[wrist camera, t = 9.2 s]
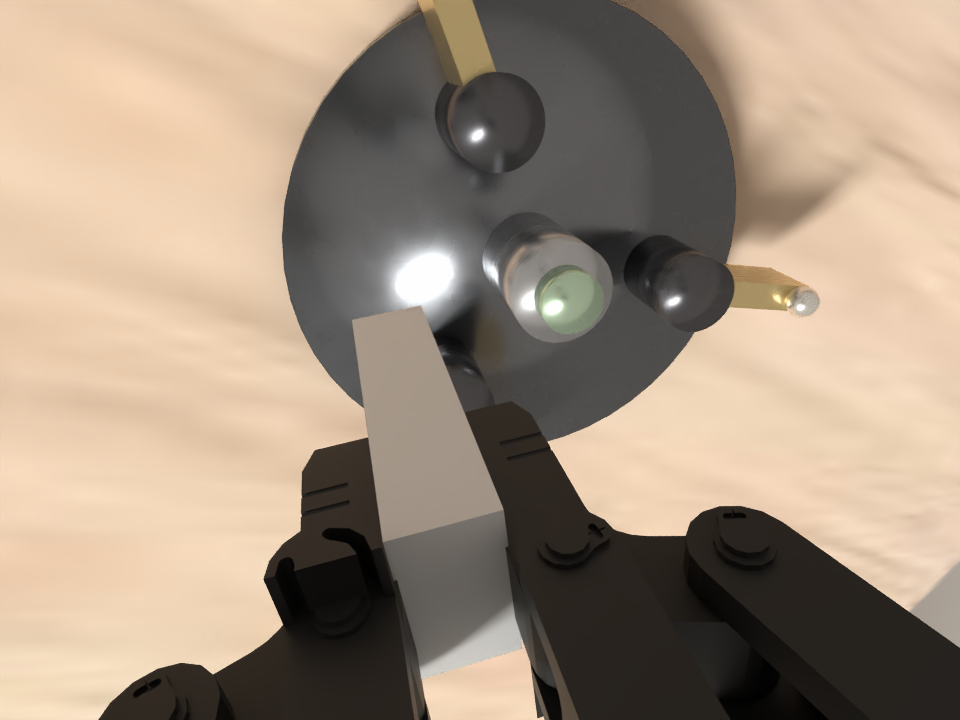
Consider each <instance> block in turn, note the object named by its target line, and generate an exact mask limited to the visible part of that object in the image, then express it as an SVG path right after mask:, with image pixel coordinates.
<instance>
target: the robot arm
mask: <svg viewBox="0 0 960 720" xmlns="http://www.w3.org/2000/svg"><path fill="white" fill-rule="evenodd" d="M352 324H353V331H354V339H355V346H356V353H357V360H358V367H359V375H360V382H361V389H362V396H363V403H364V411H365V418H366V425H367V432H368V438H364V439H360V440H356V441H352V442H347V443H343V444H339V445H335V446H331V447H327V448H323V449H318V450H315V451H314V453H313V454H312V456H311V458H310V459H309V461H308V463H307V465H306V466H305V468H304V470H303V471H302V498H301V514H302V517H301V531H300V532H299V533H297V534H296V535H295V536H293V537H292V538H291V539H289V540H288V541H286V542H285V543H284V544H283V545H282V546H281V547H280V548H279V550H278V551H277V552H276V553H275V555H274V556H273V557H272V558H271V560H270V561H269V564H268V567H267V570H266V573H265V576H264V582H265V584H266V586H267V589H268V591H269V593H270V595H271V598H272V600H273V602H274V605H275V607H276V609H277V611H278V614H279V616H280V618H281V620H282V623H283V626H282V627H281V628H280V629H279V630H278V631H277V632H276V633H275V634H274V635H273V636H272V637H271V638H270V639H269V640H268V641H267V642H266V643H264V644H263V645H261V646H260V647H258V648H257V649H255V650H254V651H253V652H251V653H250V654H248V655H246V656H244V657H243V658H241V659H239V660H237V661H236V662H234V663H232V664H231V665H229V666H227V667H225V668H224V669H222V670H220V671H219V672H217V673H215V674H212V673H210V672H209V671H208V670H206V669H205V668H204V667H203V666H201V665H194V664H186V663H179V664H175V665H171V666H167V667H163V668H159V669H157V670H155V671H153V672H151V673H149V674H148V675H146V676H144V677H142V678H140V679H139V680H137V681H135V682H133V683H132V684H131V685H130V686H129V687H128V688H126V689H125V690H124V691H123V692H122V693H121V694H120V695H119V696H117V697H116V698H115V699H114V700H113V701H112V702H111V703H110V704H109V706H108V707H107V708H106V710H105V711H104V713H103V714H102V715H101V717H100V718H99V720H431V718H430V715H429V711H428V708H427V704H426V701H425V697H424V691H423V685H422V679H424V678H428V677H431V676H434V675H437V674H441V673H444V672H447V671H450V670H454V669H457V668H460V667H463V666H467V665H470V664H473V663H476V662H480V661H483V660H486V659H489V658H493V657H496V656H499V655H503V654H506V653H509V652H512V651H516V650H519V649H522V642H521V637H522V640H523V643H524V645H525V648H526V651H527V654H528V657H529V660H530V663H531V671H532V679H533V686H534V694H535V702H536V710H537V718H540V717H543V716H544V719H545V720H960V648H959V647H958V646H956V645H955V644H953V643H952V642H951V641H949V640H948V639H947V638H945V637H944V636H942V635H941V634H940V633H938V632H937V631H935V630H934V629H932V628H931V627H930V626H928V625H927V624H925V623H924V622H923V621H921V620H920V619H918V618H917V617H916V616H914V615H913V614H911V613H910V612H908V611H907V610H906V609H904V608H903V607H901V606H900V605H899V604H897V603H896V602H894V601H893V600H892V599H890V598H889V597H887V596H886V595H885V594H883V593H882V592H880V591H879V590H877V589H876V588H875V587H873V586H872V585H870V584H869V583H868V582H866V581H865V580H863V579H862V578H861V577H859V576H858V575H856V574H855V573H854V572H852V571H851V570H849V569H848V568H846V567H845V566H844V565H842V564H841V563H839V562H838V561H837V560H835V559H834V558H832V557H831V556H830V555H828V554H827V553H825V552H824V551H823V550H821V549H820V548H818V547H817V546H815V545H814V544H813V543H811V542H810V541H808V540H807V539H806V538H804V537H803V536H801V535H800V534H799V533H797V532H796V531H794V530H793V529H791V528H790V527H789V526H787V525H786V524H784V523H783V522H781V521H780V520H778V519H776V518H774V517H772V516H770V515H768V514H766V513H764V512H762V511H758V510H754V509H750V508H746V507H742V506H719V507H716V508H713V509H710V510H707V511H704V512H702V513H700V514H699V515H698V516H697V517H696V518H695V519H694V520H692V521H691V522H690V525H689V528H688V531H687V534H686V536H639V535H630V534H627V533H623V532H619V531H616V530H614V529H613V528H612V527H611V526H610V525H609V524H608V523H607V522H606V521H605V520H604V519H602V518H600V517H598V516H596V515H594V514H592V513H590V512H589V511H588V510H587V509H586V507H585V506H584V504H583V502H582V501H581V499H580V497H579V496H578V494H577V492H576V490H575V489H574V487H573V485H572V484H571V482H570V480H569V478H568V477H567V475H566V473H565V471H564V470H563V468H562V466H561V465H560V463H559V461H558V459H557V458H556V456H555V454H554V453H553V451H551V449H550V446H549V444H548V442H547V440H546V439H545V437H544V435H542V432H541V430H540V428H539V427H538V425H537V423H536V422H535V420H534V418H533V416H532V415H531V413H529V412H527V411H526V410H524V409H523V408H521V407H520V406H518V405H516V404H515V403H513V402H512V401H509V402H505V403H501V404H497V405H492V406H488V407H484V408H480V409H476V410H472V411H468V412H464V411H463V408H462V406H461V403H460V401H459V398H458V396H457V393H456V391H455V388H454V386H453V383H452V381H451V378H450V376H449V373H448V371H447V369H446V366H445V364H444V361H443V359H442V356H441V354H440V351H439V349H438V346H437V344H436V341H435V339H434V336H433V334H432V331H431V329H430V326H429V324H428V322H427V319H426V317H425V314H424V312H423V309H422V307H421V305H420V306H415V307H411V308H406V309H401V310H396V311H392V312H387V313H382V314H377V315H373V316H368V317H363V318H358V319H354V320H352Z"/></svg>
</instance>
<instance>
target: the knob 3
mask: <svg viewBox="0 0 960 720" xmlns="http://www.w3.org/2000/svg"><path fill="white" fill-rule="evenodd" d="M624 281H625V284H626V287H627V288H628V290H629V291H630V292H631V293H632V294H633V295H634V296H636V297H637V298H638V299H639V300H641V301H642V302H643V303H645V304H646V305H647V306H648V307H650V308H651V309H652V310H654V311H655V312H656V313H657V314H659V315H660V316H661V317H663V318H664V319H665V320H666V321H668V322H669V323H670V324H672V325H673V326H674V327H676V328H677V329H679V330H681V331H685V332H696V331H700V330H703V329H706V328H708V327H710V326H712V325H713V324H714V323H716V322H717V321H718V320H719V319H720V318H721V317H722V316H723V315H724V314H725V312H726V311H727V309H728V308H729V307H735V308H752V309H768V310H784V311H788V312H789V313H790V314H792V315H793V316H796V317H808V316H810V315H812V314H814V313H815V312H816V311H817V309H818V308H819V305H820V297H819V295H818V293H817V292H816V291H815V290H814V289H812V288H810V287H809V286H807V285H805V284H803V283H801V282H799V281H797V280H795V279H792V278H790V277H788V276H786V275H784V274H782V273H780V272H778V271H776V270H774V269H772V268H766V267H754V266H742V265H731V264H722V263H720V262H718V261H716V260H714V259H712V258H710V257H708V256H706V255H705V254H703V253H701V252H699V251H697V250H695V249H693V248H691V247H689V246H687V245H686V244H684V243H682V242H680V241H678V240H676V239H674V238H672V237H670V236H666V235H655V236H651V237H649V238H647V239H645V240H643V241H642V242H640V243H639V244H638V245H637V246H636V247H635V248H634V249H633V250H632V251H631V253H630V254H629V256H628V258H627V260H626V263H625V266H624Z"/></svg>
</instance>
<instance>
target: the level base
mask: <svg viewBox="0 0 960 720" xmlns="http://www.w3.org/2000/svg"><path fill="white" fill-rule="evenodd" d="M472 1H473V4H474V7H475V10H476V13H477V16H478V19H479V22H480V25H481V28H482V31H483V34H484V37H485V40H486V43H487V46H488V49H489V52H490V55H491V58H492V61H493V64H494V67H495V70H496V72H504V73H511V74H514V75H517V76H519V77H521V78H523V79H525V80H526V81H527V82H528V83H530V84H531V85H532V86H533V88H534V89H535V90H536V92H537V93H538V95H539V97H540V98H541V101H542V104H543V107H544V111H545V131H544V135H543V139H542V141H541V144H540V146H539V148H538V150H537V151H536V153H535V154H534V155H533V157H532V158H531V159H530V160H529V161H528V162H527V163H525V164H524V165H523V166H521V167H520V168H518V169H516V170H513V171H511V172H506V173H490V172H486V171H483V170H481V169H479V168H477V167H475V166H474V165H472V164H471V163H470V162H468V161H467V160H466V159H464V158H463V157H462V156H460V155H459V154H458V153H456V152H455V151H454V150H452V149H451V148H450V147H449V146H448V145H447V144H446V143H445V142H444V141H443V139H442V138H441V136H440V134H439V132H438V130H437V127H436V122H435V105H436V101H437V97H438V95H439V93H440V91H441V89H442V87H443V86H444V85H445V84H446V82H447V81H448V79H447V77H446V74H445V71H444V69H443V66H442V63H441V61H440V58H439V55H438V53H437V50H436V48H435V45H434V42H433V40H432V37H431V34H430V32H429V29H428V26H427V24H426V21H425V18H424V16H423V13H422V11H421V12H419V13H417V14H415V15H414V16H412V17H410V18H408V19H406V20H404V21H403V22H401V23H399V24H397V25H395V26H394V27H393V28H391V29H390V30H389V31H387V32H386V33H385V34H383V35H382V36H381V37H379V38H378V39H377V40H375V41H374V42H373V43H372V44H370V45H369V46H368V47H366V49H365V50H364V51H363V52H362V53H361V54H360V55H359V56H358V57H357V58H356V59H355V60H354V61H353V62H352V63H351V64H350V65H349V66H348V67H347V68H346V69H345V70H344V71H343V72H342V73H341V75H340V76H339V77H338V79H337V80H336V81H335V83H334V84H333V86H332V87H331V88H330V90H329V91H328V92H327V94H326V95H325V96H324V98H323V99H322V101H321V103H320V104H319V106H318V108H317V110H316V112H315V114H314V116H313V117H312V119H311V121H310V123H309V125H308V127H307V129H306V131H305V133H304V136H303V139H302V142H301V144H300V147H299V150H298V152H297V155H296V158H295V160H294V164H293V168H292V172H291V176H290V181H289V186H288V190H287V195H286V199H285V205H284V218H283V231H282V244H283V259H284V271H285V276H286V281H287V286H288V290H289V295H290V300H291V303H292V306H293V308H294V311H295V314H296V317H297V319H298V322H299V325H300V328H301V330H302V332H303V334H304V336H305V338H306V339H307V341H308V343H309V345H310V347H311V349H312V351H313V353H314V354H315V356H316V357H317V359H318V360H319V361H320V363H321V364H322V366H323V367H324V368H325V370H326V371H327V372H328V374H329V375H330V377H331V378H332V379H333V380H334V381H335V382H336V383H337V384H338V385H339V386H340V387H341V388H342V389H343V390H344V391H345V392H346V393H347V395H348V396H349V397H351V398H352V399H353V400H354V401H356V402H357V403H358V404H359V405H361V406H362V407H363V408H364V403H363V396H362V389H361V382H360V375H359V367H358V360H357V353H356V346H355V339H354V331H353V324H352V320H354V319H358V318H363V317H368V316H373V315H377V314H382V313H387V312H392V311H396V310H401V309H406V308H411V307H415V306H420V305H421V307H422V309H423V312H424V314H425V317H426V319H427V322H428V324H429V326H430V329H431V331H432V334H433V336H434V338H436V337H452V338H456V339H458V340H460V341H462V342H463V343H465V344H466V345H467V346H468V347H469V349H470V350H471V352H472V354H473V356H474V358H475V360H476V362H477V364H478V366H479V368H480V370H481V372H482V374H483V376H484V378H485V380H486V382H487V384H488V386H489V388H490V390H491V392H492V394H493V397H494V401H495V405H497V404H501V403H505V402H509V401H512V402H513V403H515V404H516V405H518V406H520V407H521V408H523V409H524V410H526V411H527V412H529V413H531V415H532V416H533V418H534V420H535V422H536V423H537V425H538V427H539V428H540V430H541V432H542V435H544V437H545V439H546V440H547V441H550V440H553V439H557V438H560V437H564V436H566V435H569V434H571V433H574V432H576V431H579V430H581V429H583V428H586V427H588V426H590V425H592V424H594V423H596V422H597V421H599V420H601V419H603V418H605V417H607V416H609V415H610V414H612V413H613V412H615V411H616V410H618V409H619V408H621V407H622V406H624V405H625V404H627V403H628V402H630V401H631V400H633V399H634V398H635V397H636V396H637V395H639V394H640V393H641V392H642V391H643V390H645V389H646V388H647V387H648V386H649V385H651V384H652V383H653V382H654V381H655V380H656V379H657V378H658V377H659V376H660V375H661V374H662V373H663V372H664V371H665V370H666V369H667V368H668V367H669V366H670V364H671V363H672V362H673V361H674V359H675V358H676V357H677V356H678V354H679V353H680V352H681V351H682V350H683V348H684V347H685V346H686V345H687V343H688V342H689V340H690V338H691V337H692V335H693V334H694V332H685V331H681V330H679V329H677V328H676V327H674V326H673V325H672V324H670V323H669V322H668V321H666V320H665V319H664V318H663V317H661V316H660V315H659V314H657V313H656V312H655V311H654V310H652V309H651V308H650V307H648V306H647V305H646V304H645V303H643V302H642V301H641V300H639V299H638V298H637V297H636V296H634V295H633V294H632V293H631V292H630V291H629V290H628V288H627V287H626V284H625V281H624V266H625V263H626V260H627V258H628V256H629V254H630V253H631V251H632V250H633V249H634V248H635V247H636V246H637V245H638V244H639V243H640V242H642V241H643V240H645V239H647V238H649V237H651V236H655V235H666V236H670V237H672V238H674V239H676V240H678V241H680V242H682V243H684V244H686V245H687V246H689V247H691V248H693V249H695V250H697V251H699V252H701V253H703V254H705V255H706V256H708V257H710V258H712V259H714V260H716V261H718V262H720V263H722V264H726V261H727V258H728V254H729V250H730V247H731V241H732V234H733V228H734V221H735V203H736V184H735V173H734V162H733V156H732V152H731V147H730V143H729V138H728V134H727V130H726V128H725V125H724V122H723V119H722V117H721V114H720V111H719V109H718V106H717V103H716V101H715V100H714V98H713V96H712V94H711V92H710V90H709V89H708V87H707V85H706V83H705V81H704V79H703V77H702V76H701V75H700V73H699V72H698V71H697V69H696V68H695V67H694V65H693V64H692V63H691V61H690V60H689V59H688V57H687V56H686V55H685V53H684V52H683V51H682V50H681V49H680V48H679V47H678V46H677V45H676V44H675V43H673V42H672V41H671V40H670V39H669V38H668V37H667V36H666V35H665V34H664V33H663V32H662V31H661V30H660V29H658V28H657V27H655V26H654V25H652V24H651V23H650V22H648V21H647V20H645V19H644V18H643V17H641V16H640V15H638V14H637V13H635V12H633V11H631V10H629V9H627V8H625V7H623V6H621V5H619V4H617V3H615V2H613V1H611V0H472Z"/></svg>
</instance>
